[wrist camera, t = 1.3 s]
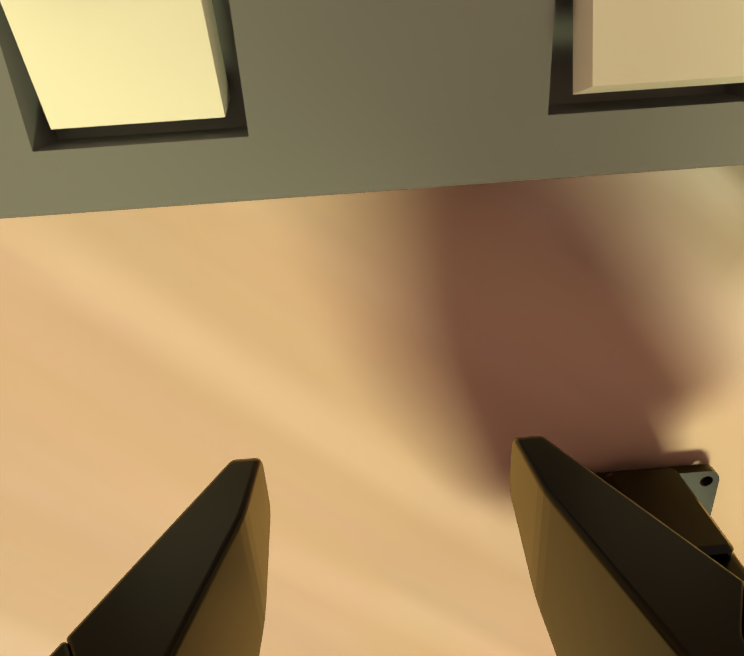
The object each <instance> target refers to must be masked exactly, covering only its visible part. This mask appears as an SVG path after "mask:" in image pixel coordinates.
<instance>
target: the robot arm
mask: <svg viewBox="0 0 744 656" xmlns="http://www.w3.org/2000/svg"><path fill="white" fill-rule="evenodd" d="M703 477H705V478H704V479H702V478H703ZM718 482H719V476H718V474H717V473H716V472H715V470H714V469H713V468H712V467H711V466H709V465H691V466H678V467H666V468H653V469H641V470H628V471H616V472H603V473H593V472H591V471H590V470H589V469H587V468H586V467H585V466H583V465H582V464H580V463H579V462H578V461H576V460H575V459H573V458H572V457H571V456H569V455H568V454H567V453H565V452H564V451H562V450H561V449H560V448H558V447H557V446H555V445H554V444H553V443H551V442H550V441H549V440H547V439H546V438H544V437H542V436H530V437H518V438H516V439H514V441H513V443H512V450H511V470H510V492H511V498H512V503H513V507H514V511H515V515H516V519H517V524H518V528H519V532H520V536H521V540H522V544H523V549H524V553H525V557H526V561H527V565H528V569H529V574H530V578H531V582H532V585H533V589H534V593H535V597H536V600H537V603H538V606H539V609H540V612H541V614H542V617H543V620H544V622H545V625H546V628H547V631H548V633H549V636H550V639H551V642H552V644H553V647H554V650H555V652H556V655H557V656H744V566H743V565H742V564H741V562H740V561H739V560H738V558H737V557H736V555H735V554H734V553H733V550H734V549H733V546H732V545H731V543H730V542H729V541H728V539H727V538H726V536H725V535H724V534H723V532H722V531H721V530H720V528H719V527H718V526H717V524H716V523H715V522H714V520H713V519H712V517H711V516H710V515H711V511H712V507H713V503H714V499H715V495H716V491H717V487H718ZM269 534H270V503H269V497H268V491H267V485H266V480H265V474H264V468H263V464H262V462H261V460H260V459H258V458H251V459H238V460H233V461H231V462H230V463H229V464H228V465H227V466H226V467H225V468H224V469H223V470H222V471H221V472H220V473H219V474H218V476H217V477H216V478H215V479H214V480H213V481H212V482H211V483H210V484H209V485H208V486H207V487H206V488H205V490H204V491H203V492H202V493H201V494H200V495H199V496H198V497H197V498H196V499H195V500H194V501H193V502H192V504H191V505H190V506H189V507H188V508H187V509H186V510H185V511H184V512H183V513H182V514H181V515H180V516H179V518H178V519H177V520H176V521H175V522H174V523H173V524H172V525H171V526H170V527H169V528H168V529H167V530H166V532H165V533H164V534H163V535H162V536H161V537H160V538H159V539H158V540H157V541H156V542H155V543H154V544H153V546H152V547H151V548H150V549H149V550H148V551H147V552H146V553H145V554H144V555H143V556H142V557H141V558H140V559H139V561H138V562H137V563H136V564H135V565H134V566H133V567H132V568H131V569H130V570H129V571H128V572H127V573H126V575H125V576H124V577H123V578H122V579H121V580H120V581H119V582H118V583H117V584H116V585H115V586H114V587H113V589H112V590H111V591H110V592H109V593H108V594H107V595H106V596H105V597H104V598H103V599H102V600H101V601H100V603H99V604H98V605H97V606H96V607H95V608H94V609H93V610H92V611H91V612H90V613H89V614H88V615H87V617H86V618H85V619H84V620H83V621H82V622H81V623H80V624H79V625H78V626H77V627H76V628H75V629H74V631H73V632H72V633H71V634H70V635H69V636H68V637H67V643H68V644H67V643H66V642H63V643H61V644H60V645H59V646H58V647H57V648H56V650H55V651H54V652H53V653H52V654H51V655H50V656H259V653H260V647H261V641H262V635H263V628H264V621H265V610H266V596H267V575H268V555H269Z"/></svg>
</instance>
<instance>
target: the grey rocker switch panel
mask: <svg viewBox="0 0 744 656" xmlns="http://www.w3.org/2000/svg"><path fill="white" fill-rule="evenodd" d="M212 4H213V9H214V15H215V20H216V25H217V30H218V35H219V40H220V45H221V50H222V55H223V61H224V66H225V71H226V76H227V81H228V86H229V91H230V96H231V99H230V102H229V105H228V109H227V112H226V116H225V117H221V118H207V119H193V120H178V121H164V122H150V123H136V124H121V125H107V126H93V127H79V128H64V129H51V128H50V125H49V123H48V120H47V118H46V115H45V113H44V110H43V108H42V105H41V103H40V100H39V98H38V95H37V93H36V90H35V88H34V85H33V83H32V80H31V78H30V75H29V73H28V70H27V68H26V65H25V63H24V60H23V58H22V55H21V53H20V50H19V48H18V45H17V42H16V40H15V37H14V35H13V32H12V30H11V27H10V25H9V22H8V20H7V17H6V15H5V12H4V10H3V7H2V5H1V2H0V219H2V218H16V217H29V216H43V215H57V214H71V213H85V212H99V211H112V210H126V209H140V208H154V207H168V206H181V205H195V204H209V203H223V202H237V201H251V200H264V199H278V198H292V197H306V196H320V195H334V194H347V193H361V192H375V191H389V190H403V189H416V188H430V187H444V186H458V185H472V184H486V183H499V182H513V181H527V180H541V179H555V178H569V177H582V176H596V175H610V174H624V173H638V172H651V171H665V170H679V169H693V168H707V167H721V166H734V165H744V83H730V84H716V85H701V86H687V87H673V88H659V89H645V90H630V91H616V92H602V93H588V94H573V0H212Z"/></svg>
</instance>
